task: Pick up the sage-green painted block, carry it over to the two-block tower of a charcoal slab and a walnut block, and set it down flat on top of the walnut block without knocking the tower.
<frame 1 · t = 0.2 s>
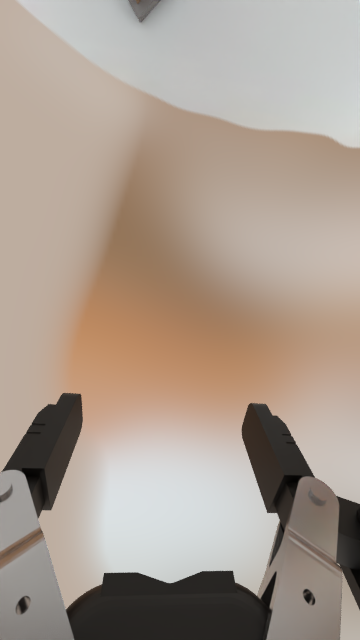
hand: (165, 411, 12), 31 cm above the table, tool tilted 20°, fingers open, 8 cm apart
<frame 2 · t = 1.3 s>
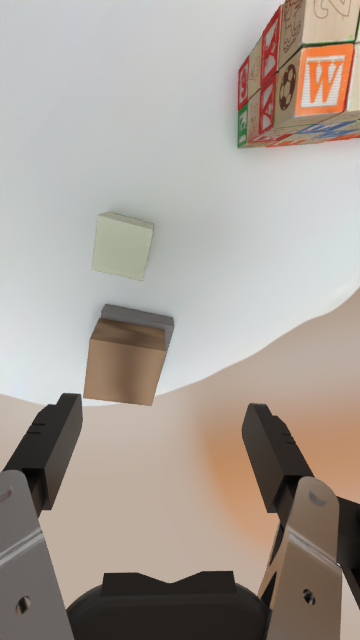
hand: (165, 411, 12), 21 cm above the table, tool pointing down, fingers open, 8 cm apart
walnut block: (127, 350, 32), point 3 cm above the table
charcoal slab: (133, 338, 35), on the table
stack of blocks: (338, 105, 25), on the table
sage block: (127, 240, 29), on the table
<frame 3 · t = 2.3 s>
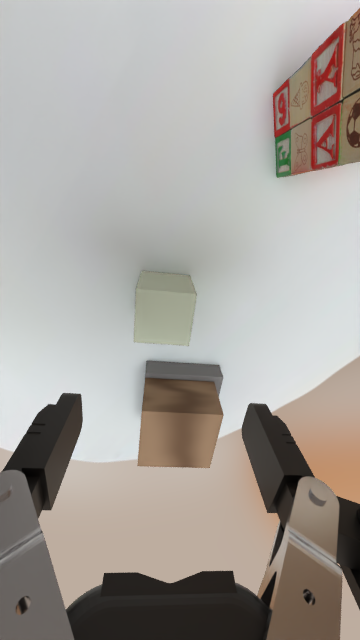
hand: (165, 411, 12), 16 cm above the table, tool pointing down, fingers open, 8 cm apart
walnut block: (176, 406, 30), point 2 cm above the table, touching charcoal slab
charcoal slab: (178, 388, 33), on the table, touching walnut block
sage block: (163, 295, 27), on the table
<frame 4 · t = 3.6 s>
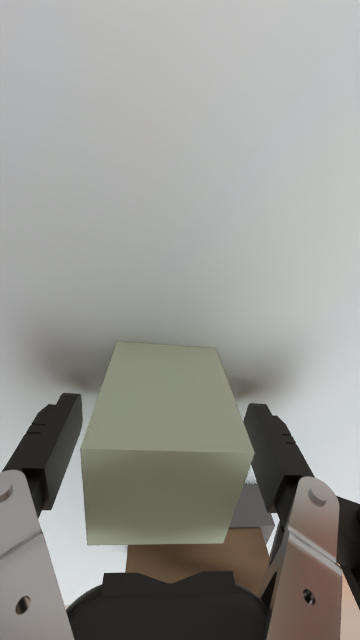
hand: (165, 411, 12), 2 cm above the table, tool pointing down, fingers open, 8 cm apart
walnut block: (189, 562, 17), point 3 cm above the table
charcoal slab: (189, 513, 20), on the table
sage block: (163, 383, 14), on the table
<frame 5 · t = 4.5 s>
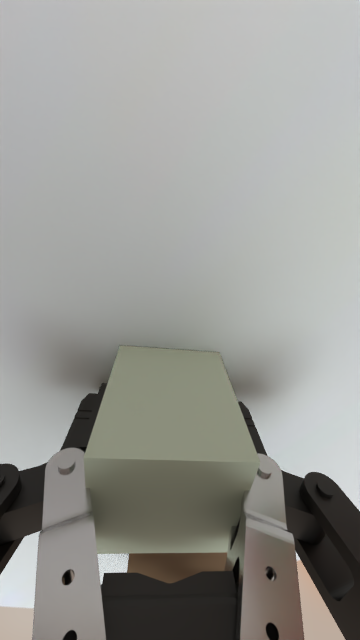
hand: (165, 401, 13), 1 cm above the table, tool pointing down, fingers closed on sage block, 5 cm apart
walnut block: (190, 570, 17), point 3 cm above the table
sage block: (165, 388, 13), on the table, touching gripper
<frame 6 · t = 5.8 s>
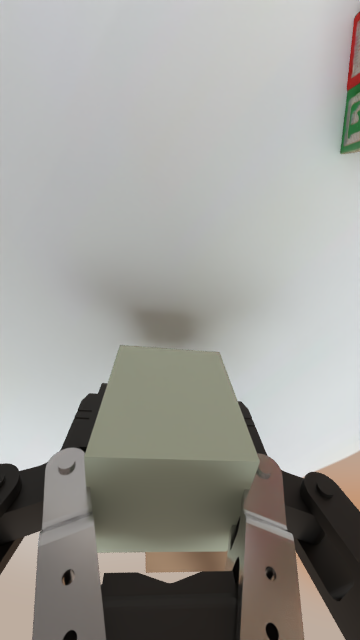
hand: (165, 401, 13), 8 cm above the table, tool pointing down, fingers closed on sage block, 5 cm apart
walnut block: (193, 478, 23), point 3 cm above the table, touching charcoal slab
sage block: (166, 388, 13), point 7 cm above the table, touching gripper
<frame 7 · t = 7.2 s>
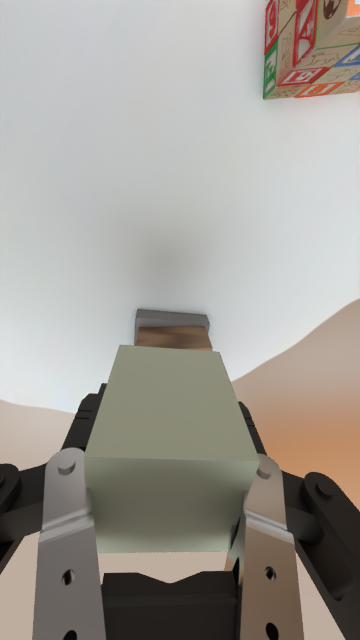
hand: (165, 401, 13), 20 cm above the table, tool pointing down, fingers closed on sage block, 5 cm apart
walnut block: (172, 354, 32), point 3 cm above the table, touching charcoal slab
charcoal slab: (168, 340, 34), on the table, touching walnut block
sage block: (165, 388, 13), point 19 cm above the table, touching gripper
when the fingers open (10 cm above the table, at t = 10.9 s): sage block drops 1 cm, resting on walnut block.
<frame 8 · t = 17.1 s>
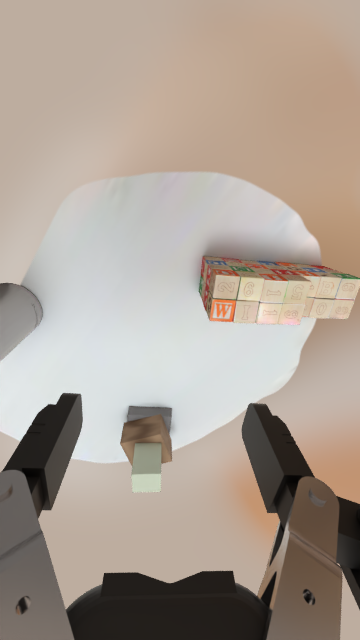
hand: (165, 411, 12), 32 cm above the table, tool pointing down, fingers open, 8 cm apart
walnut block: (148, 431, 53), point 2 cm above the table, touching charcoal slab, sage block
charcoal slab: (149, 420, 56), on the table, touching walnut block
stack of blocks: (260, 278, 43), on the table
sage block: (148, 451, 49), point 7 cm above the table, touching walnut block
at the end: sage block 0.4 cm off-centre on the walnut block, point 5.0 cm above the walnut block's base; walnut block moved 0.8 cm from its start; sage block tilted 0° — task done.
